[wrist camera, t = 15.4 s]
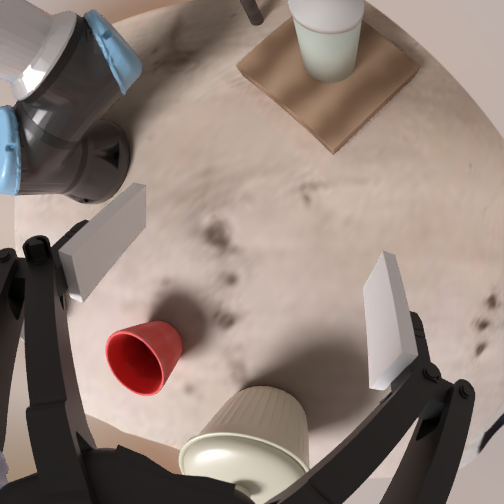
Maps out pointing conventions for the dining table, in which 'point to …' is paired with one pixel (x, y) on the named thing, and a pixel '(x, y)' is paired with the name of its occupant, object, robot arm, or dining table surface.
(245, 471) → the canister
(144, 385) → the flower pot
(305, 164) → the dining table surface
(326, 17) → the domed lid bottle
